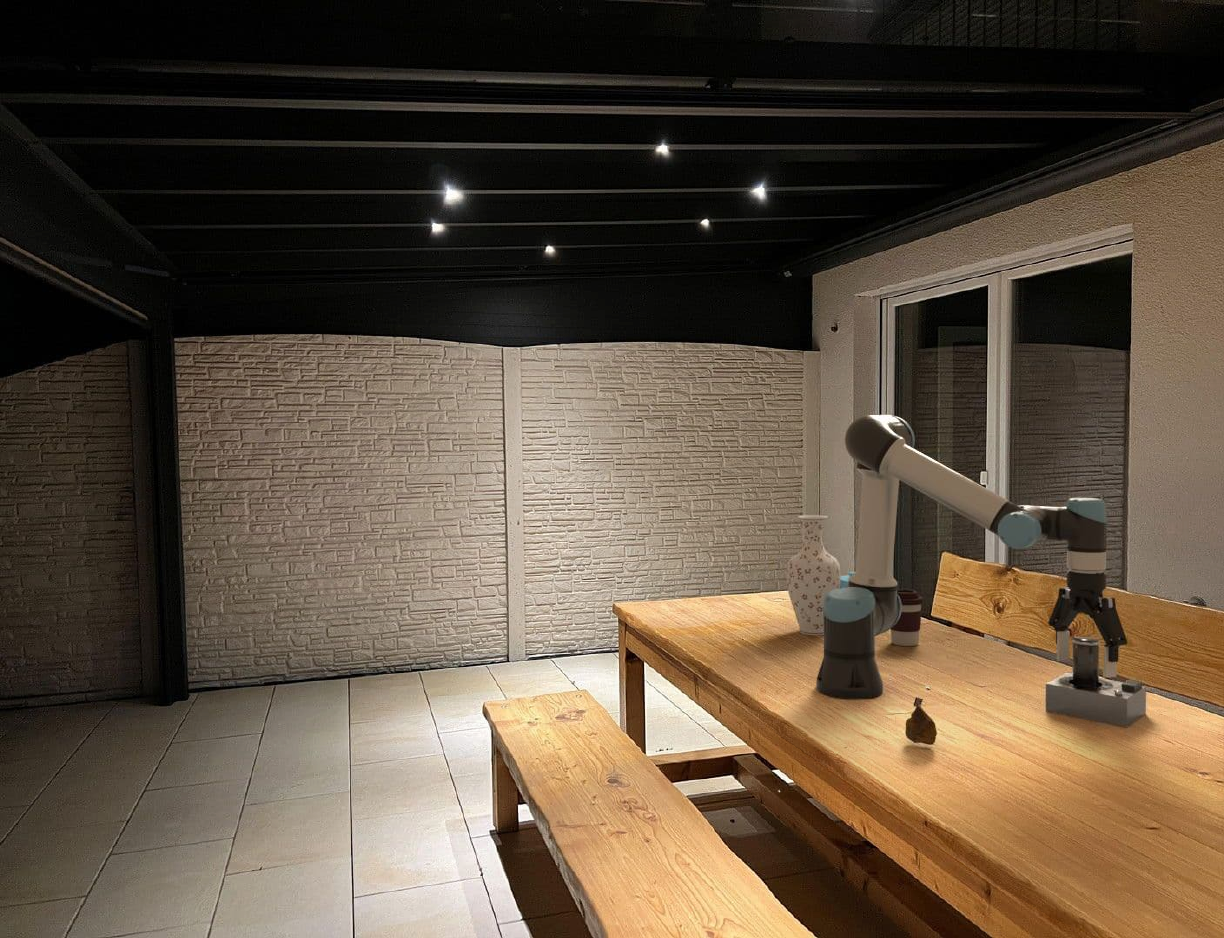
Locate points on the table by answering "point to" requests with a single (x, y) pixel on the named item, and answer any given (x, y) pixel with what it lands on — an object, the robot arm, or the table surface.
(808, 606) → the vase
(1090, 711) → the grey block with hole
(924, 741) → the chicken drumstick
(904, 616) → the coffee cup
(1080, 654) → the lens
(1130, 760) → the table surface
